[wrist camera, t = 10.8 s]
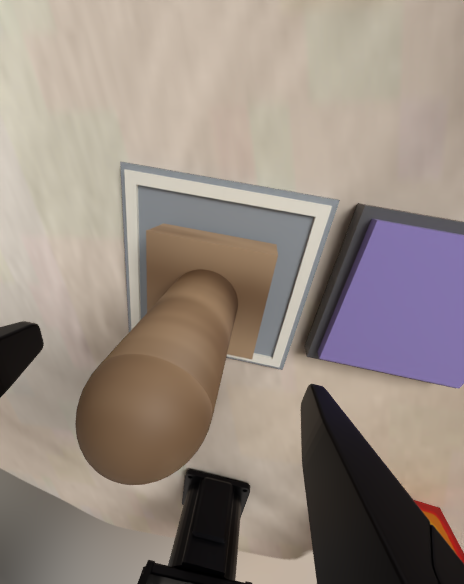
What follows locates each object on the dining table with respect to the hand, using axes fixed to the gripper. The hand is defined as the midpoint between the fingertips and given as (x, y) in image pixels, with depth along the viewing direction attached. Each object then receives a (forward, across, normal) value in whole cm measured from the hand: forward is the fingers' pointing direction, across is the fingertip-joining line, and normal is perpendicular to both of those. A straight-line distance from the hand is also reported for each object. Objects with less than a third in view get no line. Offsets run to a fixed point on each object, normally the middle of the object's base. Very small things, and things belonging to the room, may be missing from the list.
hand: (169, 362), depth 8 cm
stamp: (+7, 0, 0) cm, 7 cm away
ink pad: (+7, -11, -1) cm, 13 cm away
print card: (+7, 0, 0) cm, 7 cm away
